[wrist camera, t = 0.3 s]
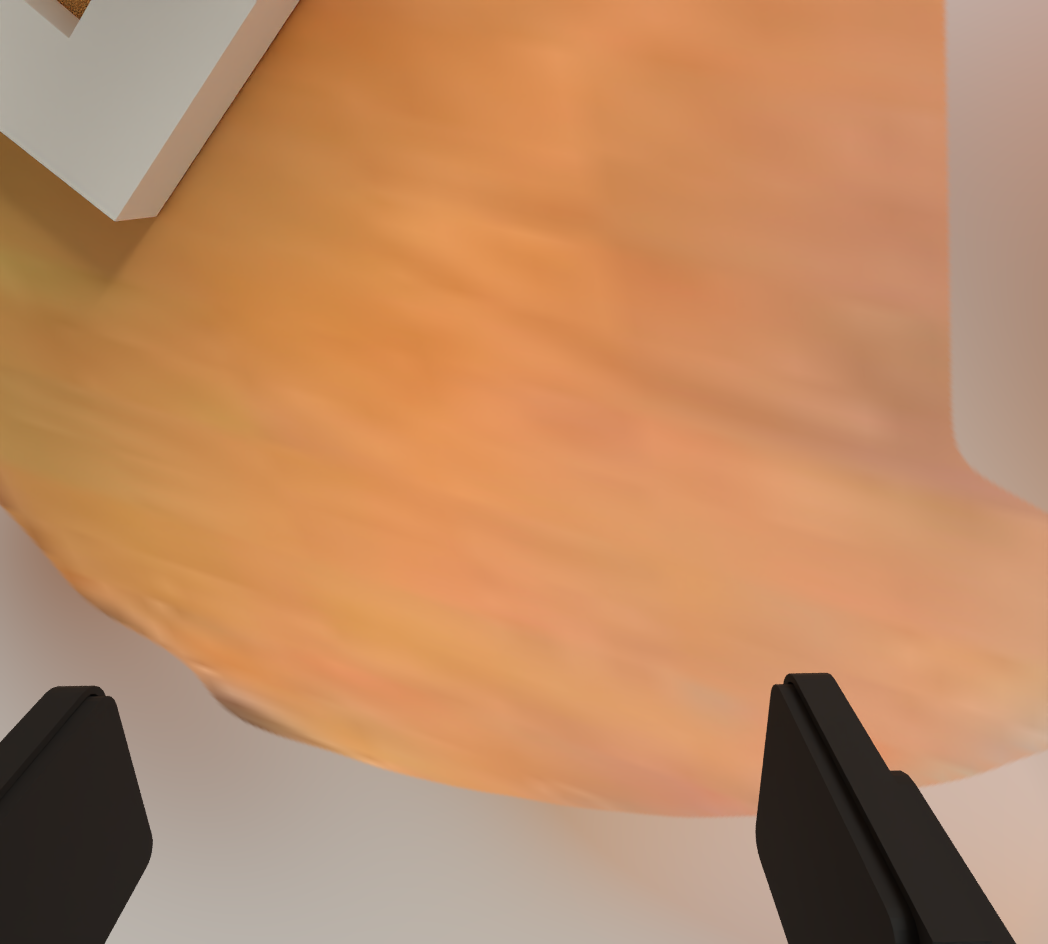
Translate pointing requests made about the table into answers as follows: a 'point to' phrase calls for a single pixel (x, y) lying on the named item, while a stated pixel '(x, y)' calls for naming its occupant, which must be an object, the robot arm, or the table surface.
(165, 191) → the socket housing
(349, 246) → the table surface
